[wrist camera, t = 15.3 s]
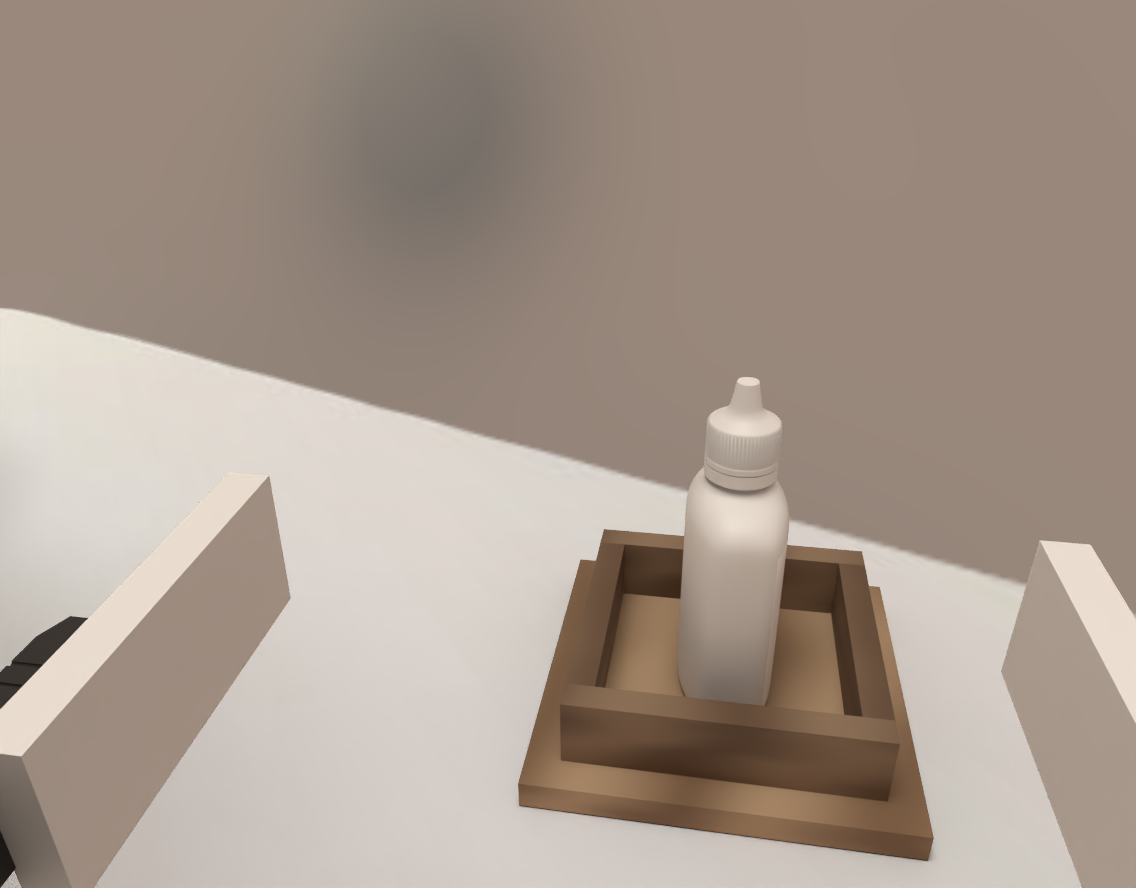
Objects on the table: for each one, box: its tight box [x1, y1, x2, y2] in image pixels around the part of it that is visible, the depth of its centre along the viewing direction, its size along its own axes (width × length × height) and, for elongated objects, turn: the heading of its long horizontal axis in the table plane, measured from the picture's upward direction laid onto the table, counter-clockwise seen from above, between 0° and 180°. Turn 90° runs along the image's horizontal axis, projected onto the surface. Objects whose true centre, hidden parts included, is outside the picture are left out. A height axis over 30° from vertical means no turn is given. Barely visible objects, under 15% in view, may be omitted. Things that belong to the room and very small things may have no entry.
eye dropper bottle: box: [677, 377, 789, 706], centre depth 32 cm, size 4×6×12 cm
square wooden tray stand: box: [518, 529, 934, 860], centre depth 34 cm, size 13×13×4 cm
